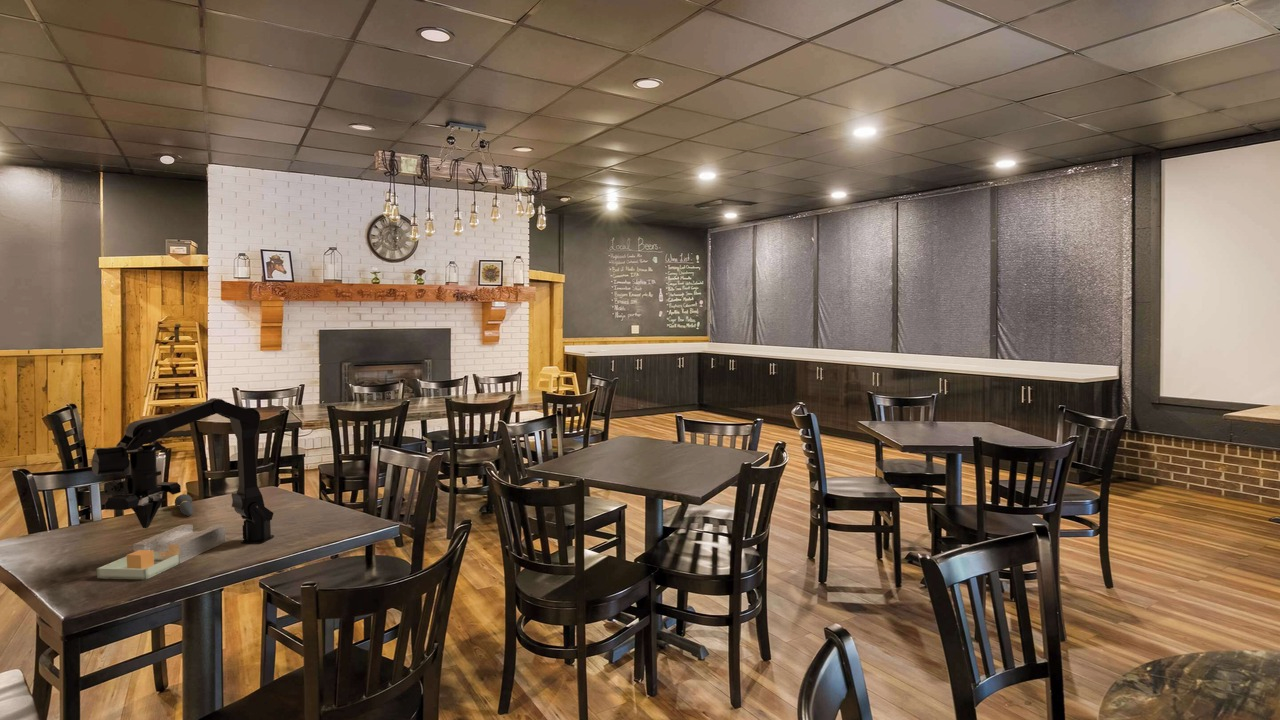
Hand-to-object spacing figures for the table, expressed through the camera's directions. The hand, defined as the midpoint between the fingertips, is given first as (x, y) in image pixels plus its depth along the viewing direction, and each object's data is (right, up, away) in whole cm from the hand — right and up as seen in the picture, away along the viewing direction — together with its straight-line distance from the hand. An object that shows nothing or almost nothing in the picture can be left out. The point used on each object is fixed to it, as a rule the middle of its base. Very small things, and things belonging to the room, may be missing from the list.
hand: (145, 527), depth 178 cm
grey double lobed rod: (-26, -8, +55) cm, 61 cm away
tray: (0, -11, -2) cm, 11 cm away
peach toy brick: (0, -8, 0) cm, 8 cm away
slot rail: (+1, -10, +13) cm, 16 cm away
